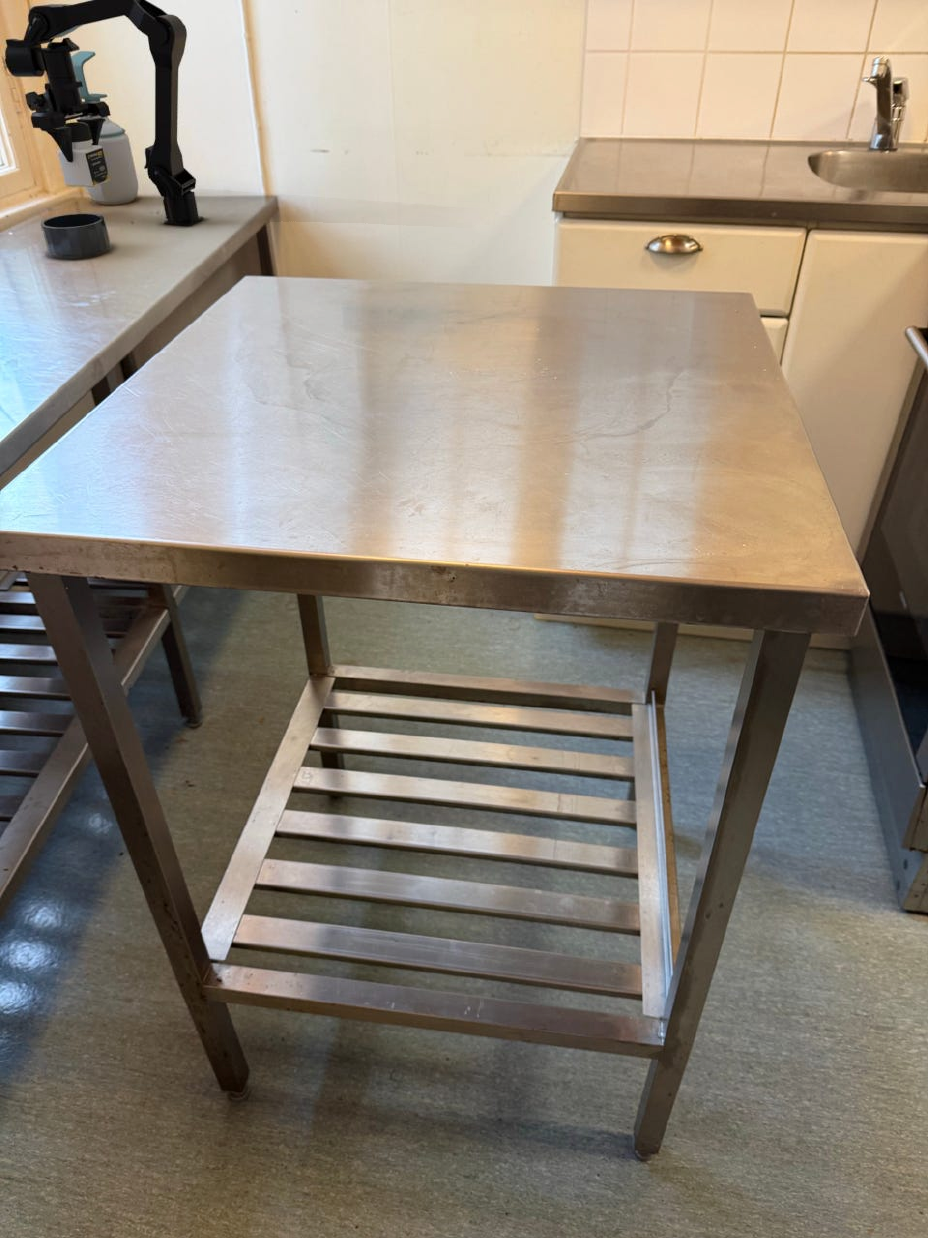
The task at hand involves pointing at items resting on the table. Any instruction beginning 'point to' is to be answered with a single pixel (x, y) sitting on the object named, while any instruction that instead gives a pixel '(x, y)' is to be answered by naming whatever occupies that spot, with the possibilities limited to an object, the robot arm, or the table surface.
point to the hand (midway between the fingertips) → (82, 158)
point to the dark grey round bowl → (76, 236)
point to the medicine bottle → (83, 159)
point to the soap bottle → (110, 150)
